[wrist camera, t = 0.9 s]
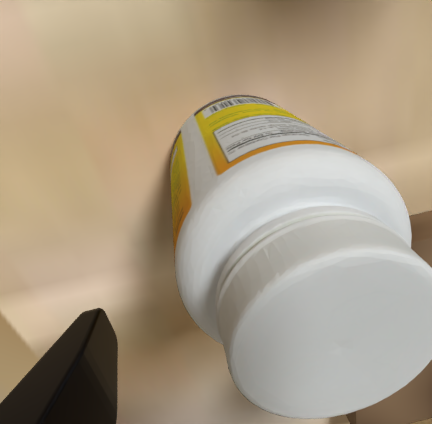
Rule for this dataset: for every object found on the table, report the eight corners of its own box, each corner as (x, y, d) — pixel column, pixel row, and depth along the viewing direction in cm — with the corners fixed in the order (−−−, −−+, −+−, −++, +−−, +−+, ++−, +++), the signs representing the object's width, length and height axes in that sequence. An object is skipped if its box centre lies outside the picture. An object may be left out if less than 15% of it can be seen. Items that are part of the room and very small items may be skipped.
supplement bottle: (229, 239, 17) (303, 479, 8) (141, 158, 15) (101, 366, 5) (323, 160, 16) (541, 336, 7) (243, 59, 13) (409, 114, 4)
